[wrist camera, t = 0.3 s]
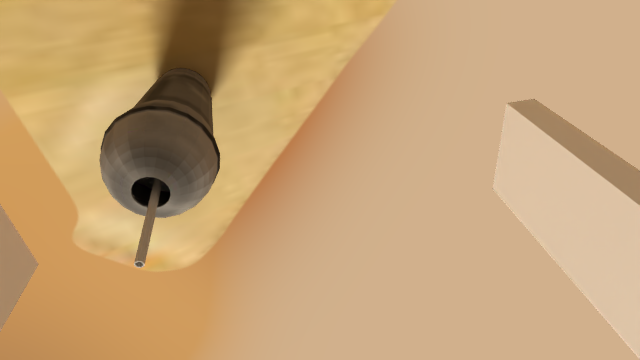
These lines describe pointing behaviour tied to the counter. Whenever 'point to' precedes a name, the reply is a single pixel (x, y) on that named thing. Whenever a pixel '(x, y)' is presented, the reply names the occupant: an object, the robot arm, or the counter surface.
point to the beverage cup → (162, 151)
